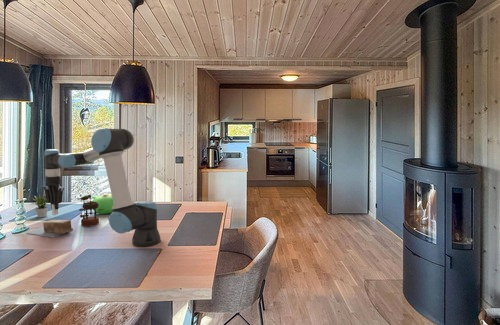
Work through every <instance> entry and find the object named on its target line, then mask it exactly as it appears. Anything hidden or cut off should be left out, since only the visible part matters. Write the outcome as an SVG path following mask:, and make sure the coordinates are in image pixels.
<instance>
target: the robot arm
mask: <svg viewBox="0 0 500 325" xmlns="http://www.w3.org/2000/svg"><path fill="white" fill-rule="evenodd" d="M90 143H91V148H89V149H86V150H84V151H81V152H72V153H61V152H60V150H59V149H53V148H52V149H45V150H44V156H43V157H44V158H43V159H44V167H45V168H44V174H45V183H46V186H43V190H44V194H46V195H45V198H47V201H48V203H47V204H50V208H51V215H52V216H56V215H59V204H61V203H62V202H63V201H62V200H63V194H64V191H65V188H64V187H62V186H61V182H62V176H61V168H65V169H66V168H72V167H76V166H85V165H87V166H88V165H91V164H94V163H95V161H97V160H99V159H103V163H104V166H105V171H106V176H107V179H108V185H109V189H110V192H111V193H110V194H112V198H113V203H114V206H113V207H112V213H109V217H108V224H109V226H110V228H111V229H112V230H113V231H114V232H115V233H118V234H125V233H129V232H131V231H134V232H133V235H132V239H131V244H132V245H133V246H135V247H141V248H142V247H143V248H144V247H145V248H146V247H153V246H155V245H158V244H159V243H160V242H161V234H160V232H159V230H158V229H159V228H158V208H157V207H158V206H157V203H156V202H154V201H150V200H149V201H148V200H139V201H135V202H134V201H133V199H132V197H131V193H130V189H129V188H130V187H129V185H128V184H129V183H128V180H127V176H126V171H125V166H124V162H123V155H124V151H127V150H129V149H131V148H132V147H133V145H134V143H135V138H134V135H133V133H132V132H131V131H130V130H127V129H125V128H107V127H105V128H99V129H96V130H95V131H93V135H92V136H91V141H90Z"/></svg>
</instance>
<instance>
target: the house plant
mask: <svg viewBox="0 0 500 325" xmlns="http://www.w3.org/2000/svg"><path fill="white" fill-rule="evenodd" d="M34 198H35V199H34ZM34 198H33V197H32V198H31V199H32V200H34V201H35V203H33V202H32V203H31V205H36V206H37V207H36V208H35V212H36V215H37V216H36V217H37V218H39V217H41V218H46V217H47V216H48V207H49V206H47V205H48V204H49V203H48V201H47V197H46V193H44V194H43V195H42V196H41V194H40V193H38V197H37V196H36V195H34Z"/></svg>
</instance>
